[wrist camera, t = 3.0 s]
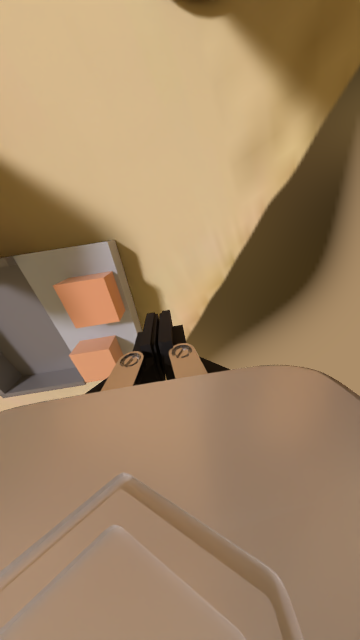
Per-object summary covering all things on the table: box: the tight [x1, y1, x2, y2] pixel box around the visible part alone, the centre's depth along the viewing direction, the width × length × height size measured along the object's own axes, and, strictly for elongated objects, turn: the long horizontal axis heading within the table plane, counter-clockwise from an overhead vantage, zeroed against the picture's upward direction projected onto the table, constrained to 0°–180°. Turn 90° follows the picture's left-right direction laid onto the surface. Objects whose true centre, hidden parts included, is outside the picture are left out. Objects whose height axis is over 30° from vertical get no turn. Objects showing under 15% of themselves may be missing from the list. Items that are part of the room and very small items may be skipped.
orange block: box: [53, 271, 125, 328], centre depth 18 cm, size 5×5×3 cm
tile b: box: [69, 335, 123, 382], centre depth 22 cm, size 5×5×3 cm
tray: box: [0, 254, 87, 398], centre depth 22 cm, size 13×19×4 cm
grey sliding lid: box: [13, 240, 143, 355], centre depth 23 cm, size 10×19×3 cm, turn 8°
